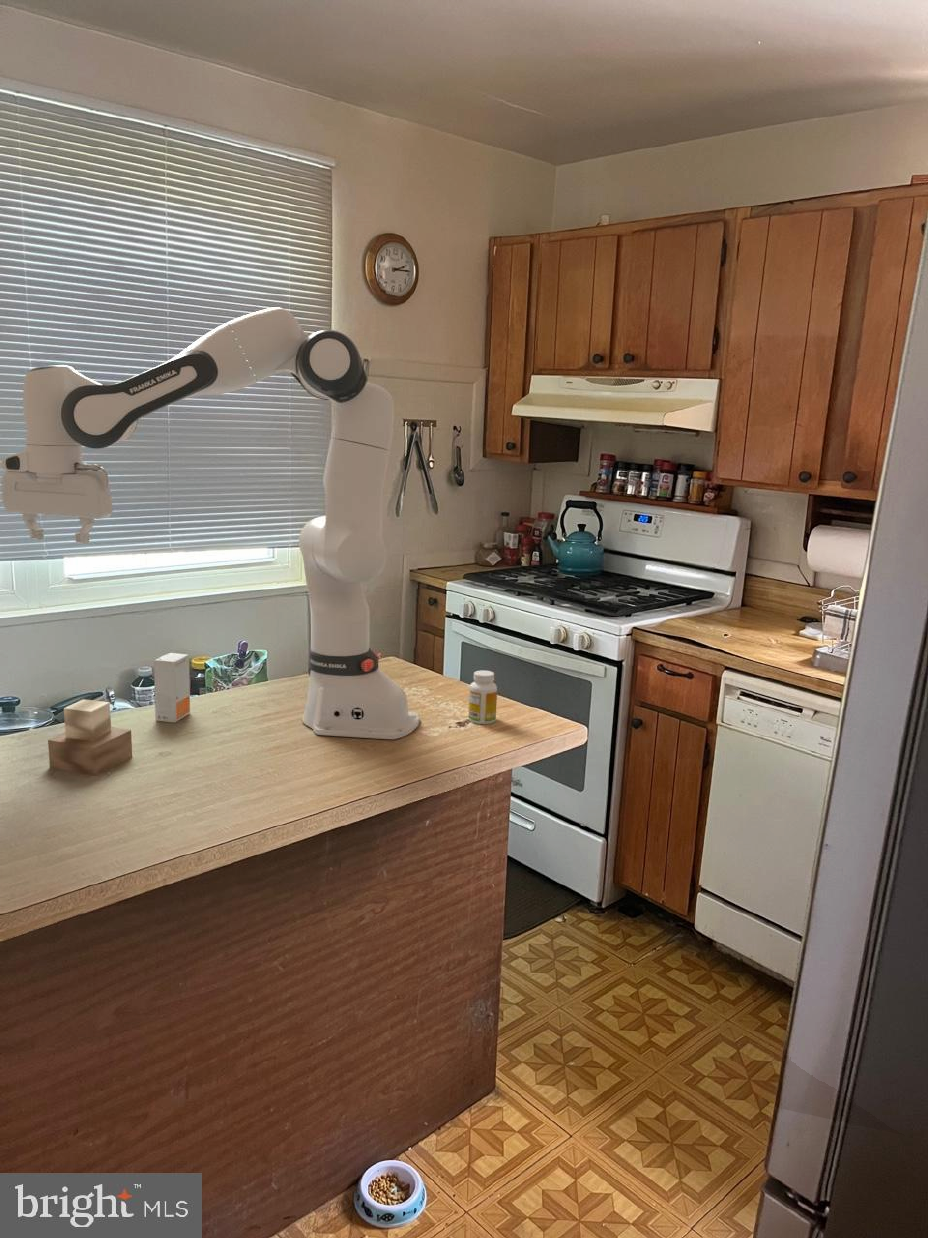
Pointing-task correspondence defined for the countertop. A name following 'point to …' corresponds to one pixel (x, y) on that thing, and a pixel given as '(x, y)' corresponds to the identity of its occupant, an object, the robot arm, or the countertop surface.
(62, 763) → the walnut block
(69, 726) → the birch cube
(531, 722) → the countertop surface
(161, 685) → the skincare box
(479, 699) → the supplement bottle
